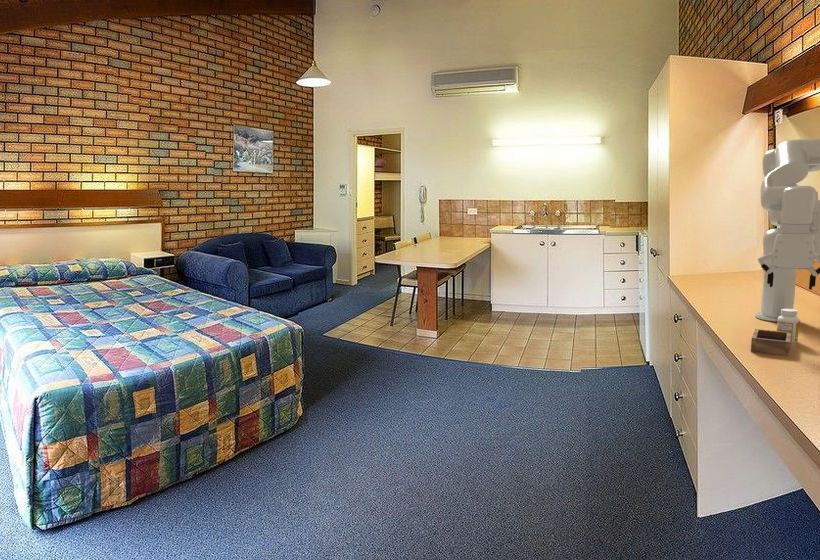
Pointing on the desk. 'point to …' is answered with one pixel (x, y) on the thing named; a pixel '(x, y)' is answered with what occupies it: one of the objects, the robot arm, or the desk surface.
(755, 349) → the walled box
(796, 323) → the supplement bottle
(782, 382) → the desk surface
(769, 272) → the robot arm
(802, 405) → the desk surface
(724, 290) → the desk surface
